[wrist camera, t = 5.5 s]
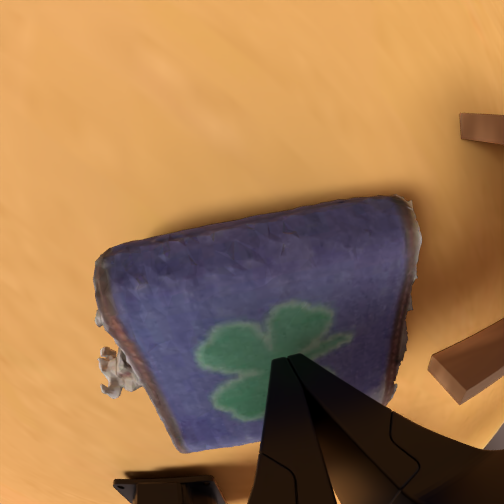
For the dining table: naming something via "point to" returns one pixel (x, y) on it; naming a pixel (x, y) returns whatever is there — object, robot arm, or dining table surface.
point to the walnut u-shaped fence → (490, 339)
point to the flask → (257, 311)
